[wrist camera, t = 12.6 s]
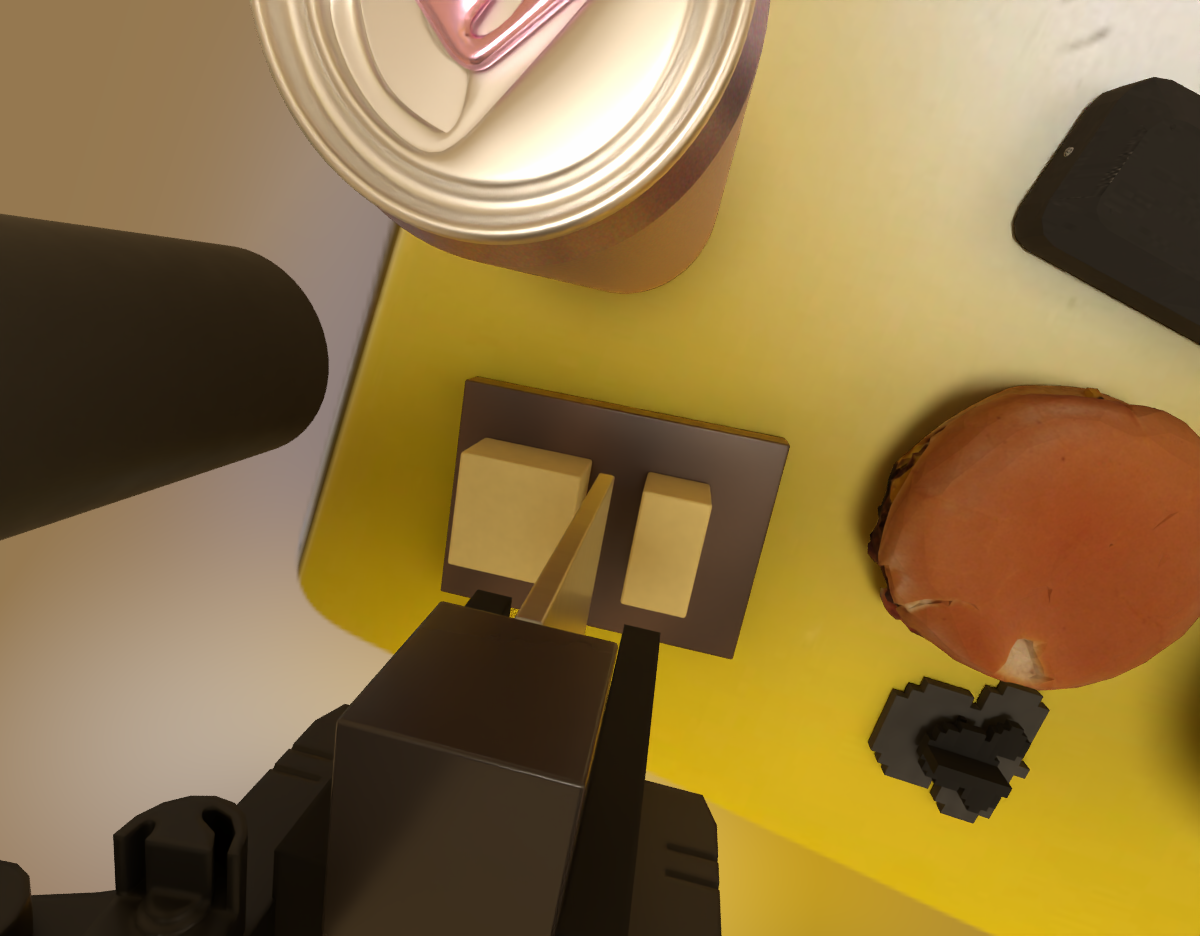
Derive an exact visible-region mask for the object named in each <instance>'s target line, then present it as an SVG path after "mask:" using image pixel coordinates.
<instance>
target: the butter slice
mask: <svg viewBox="0 0 1200 936" xmlns="http://www.w3.org/2000/svg"><path fill="white" fill-rule="evenodd" d="M711 510H712V503H711V493H710V485H708V484H705V483H700V482H696V481H691V480H686V479H681V478H676V477H672V476H667V475H662V474H657V473H653V472H649V473H648V475H647V479H646V482H645V486H644V490H643V494H642V499H641V504H640V508H639V513H638V518H637V523H636V528H635V533H634V537H633V542H632V547H631V552H630V557H629V562H628V567H627V571H626V576H625V581H624V586H623V591H622V596H621V600H620V601H621V603H622V604H625V605H630V606H634V607H638V608H643V609H647V610H651V611H656V612H660V613H664V614H669V615H673V616H677V617H682V618H685V616H686V614H687V609H688V605H689V601H690V597H691V593H692V589H693V584H694V580H695V576H696V572H697V568H698V564H699V559H700V555H701V551H702V547H703V543H704V539H705V535H706V530H707V526H708V522H709V518H710V514H711Z"/></svg>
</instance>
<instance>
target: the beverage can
mask: <svg viewBox="0 0 1200 936" xmlns="http://www.w3.org/2000/svg"><path fill="white" fill-rule="evenodd" d="M769 5H770V0H250V6H251V11H252V14H253V19H254V23H255V27H256V31H257V34H258V38H259V41H260V44H261V48H262V51H263V54H264V56H265V59H266V62H267V64H268V67H269V70H270V72H271V75H272V77H273V79H274V81H275V84H276V86H277V88H278V90H279V93H280V95H281V96H282V98H283V100H284V102H285V103H286V106H287V108H288V109H289V111H290V113H291V115H292V116H293V118H294V120H295V121H296V123H297V124H298V126H299V128H300V129H301V131H302V132H303V133H304V135H305V136H306V137H307V139H308V140H309V142H310V143H311V145H312V146H313V147H314V148H315V150H316V151H317V152H318V153H319V154H320V156H321V157H322V158H323V159H324V160H325V162H326V163H327V164H328V165H329V166H330V167H331V168H332V169H333V170H334V171H335V172H336V173H337V174H338V175H339V176H340V177H341V178H342V179H343V180H344V181H345V182H347V183H348V184H349V185H350V186H351V187H352V188H354V190H356V191H357V192H358V193H359V194H361V195H362V196H363V197H365V198H366V199H367V200H369V201H370V202H371V203H373V204H374V205H376V206H377V207H378V208H379V209H380V210H381V211H382V212H384V213H385V214H386V215H387V216H388V217H389V218H390V219H392V220H393V221H394V222H396V223H397V224H398V225H399V226H401V227H402V228H404V229H405V230H407V231H408V232H410V233H411V234H413V235H414V236H416V237H417V238H419V239H421V240H423V241H425V242H427V243H428V244H430V245H432V246H434V247H437V248H439V249H441V250H443V251H446V252H448V253H451V254H454V255H456V256H459V257H462V258H465V259H469V260H473V261H477V262H481V263H485V264H489V265H494V266H498V267H502V268H507V269H511V270H516V271H520V272H524V273H529V274H533V275H537V276H542V277H546V278H550V279H555V280H559V281H563V282H568V283H572V284H576V285H581V286H585V287H590V288H594V289H598V290H603V291H607V292H613V293H637V292H643V291H647V290H651V289H654V288H656V287H659V286H661V285H663V284H665V283H667V282H669V281H671V280H672V279H674V278H675V277H677V276H678V275H679V274H681V273H682V272H683V271H684V270H685V269H687V268H688V267H689V266H690V265H691V264H692V262H693V261H694V260H695V259H696V258H697V256H698V255H699V254H700V252H701V251H702V249H703V248H704V246H705V245H706V243H707V241H708V239H709V237H710V235H711V232H712V230H713V227H714V224H715V221H716V217H717V214H718V210H719V206H720V203H721V199H722V195H723V192H724V188H725V184H726V181H727V177H728V173H729V170H730V166H731V162H732V159H733V155H734V151H735V148H736V144H737V140H738V137H739V133H740V129H741V126H742V122H743V118H744V115H745V111H746V107H747V104H748V100H749V96H750V93H751V89H752V85H753V82H754V78H755V74H756V71H757V67H758V63H759V60H760V56H761V52H762V47H763V43H764V38H765V33H766V27H767V20H768V13H769Z"/></svg>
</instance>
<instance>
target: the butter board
mask: <svg viewBox="0 0 1200 936" xmlns="http://www.w3.org/2000/svg"><path fill="white" fill-rule="evenodd" d="M484 438H491V439H496V440H501V441H505V442H510V443H515V444H520V445H524V446H529V447H534V448H539V449H543V450H548V451H553V452H558V453H562V454H567V455H572V456H577V457H581V458H586V459H590V460H592V467H591V472H590V478H589V483H588V489H587V494H588V492H589V490H590V489H591V487H592V485H593V484H594V482H595V480H596V479H597V477H598V475H599V474H600V473H603V474H607V475H612V476H614V477H615V479H614V484H613V489H612V494H611V500H610V505H609V510H608V515H607V520H606V526H605V531H604V536H603V541H602V547H601V552H600V557H599V562H598V567H597V573H596V578H595V583H594V588H593V593H592V599H591V604H590V609H589V614H588V619H587V625H588V626H592V627H596V628H600V629H605V630H609V631H613V632H617V633H623V628H624V624H626V625H630V626H635V627H639V628H643V629H647V630H652V631H656V632H660V633H661V634H660V643H664V644H668V645H672V646H677V647H681V648H685V649H689V650H694V651H698V652H702V653H706V654H711V655H715V656H719V657H723V658H728V659H732V658H733V656H734V652H735V648H736V645H737V641H738V637H739V634H740V630H741V626H742V622H743V619H744V615H745V611H746V608H747V604H748V600H749V596H750V593H751V589H752V585H753V582H754V578H755V574H756V570H757V567H758V563H759V559H760V555H761V552H762V548H763V544H764V541H765V537H766V533H767V529H768V526H769V522H770V518H771V515H772V511H773V507H774V503H775V500H776V496H777V492H778V488H779V485H780V481H781V477H782V474H783V470H784V466H785V462H786V459H787V455H788V451H789V448H790V445H789V444H788V442H787V441H786V440H785V439H784V438H781V437H776V436H771V435H766V434H761V433H756V432H751V431H746V430H741V429H736V428H731V427H726V426H721V425H716V424H711V423H706V422H702V421H697V420H692V419H687V418H682V417H677V416H672V415H667V414H662V413H657V412H652V411H647V410H642V409H637V408H632V407H627V406H622V405H617V404H612V403H607V402H602V401H597V400H592V399H587V398H582V397H577V396H572V395H567V394H562V393H557V392H552V391H547V390H542V389H537V388H532V387H527V386H522V385H517V384H513V383H508V382H503V381H498V380H493V379H488V378H483V377H478V376H477V377H474V378H470V379H467V380H466V381H465V389H464V397H463V406H462V414H461V422H460V431H459V439H458V448H457V456H456V465H455V473H454V482H453V490H452V499H451V507H450V516H449V524H448V532H447V541H446V549H445V558H444V566H443V575H442V583H441V591H444V592H448V593H452V594H456V595H461V596H465V597H469V598H471V597H472V596H473V595H474V594H475V592H476V591H477V590H483V591H487V592H491V593H495V594H500V595H504V596H508V597H512V603H511V608H516V609H520V608H521V606H522V604H523V603H524V601H525V599H526V598H527V596H528V594H529V592H530V591H531V589H532V587H533V586H534V584H535V583H530V582H526V581H522V580H517V579H513V578H509V577H504V576H500V575H496V574H491V573H487V572H483V571H478V570H474V569H470V568H465V567H461V566H457V565H452V564H449V563H448V558H449V550H450V541H451V533H452V525H453V516H454V508H455V500H456V491H457V483H458V475H459V466H460V458H461V453H462V452H463V451H465V450H466V449H468V448H470V447H471V446H473V445H474V444H476V443H478V442H479V441H481V440H483V439H484ZM649 472H653V473H657V474H662V475H667V476H672V477H676V478H681V479H686V480H691V481H696V482H700V483H705V484H708V485H710V493H711V503H712V510H711V514H710V518H709V522H708V526H707V530H706V535H705V539H704V543H703V547H702V551H701V555H700V559H699V564H698V568H697V572H696V576H695V580H694V584H693V589H692V593H691V597H690V601H689V605H688V609H687V614H686V616H685V618H682V617H677V616H673V615H669V614H664V613H660V612H656V611H651V610H647V609H643V608H638V607H634V606H630V605H625V604H622V603H621V601H620V600H621V596H622V591H623V586H624V581H625V576H626V571H627V567H628V562H629V557H630V552H631V547H632V542H633V537H634V533H635V528H636V523H637V518H638V513H639V508H640V504H641V499H642V494H643V490H644V486H645V482H646V479H647V475H648V473H649ZM587 494H586V496H587Z"/></svg>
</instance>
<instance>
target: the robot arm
mask: <svg viewBox="0 0 1200 936" xmlns="http://www.w3.org/2000/svg"><path fill="white" fill-rule="evenodd" d="M511 603H512V597H508V596H504V595H500V594H495V593H491V592H487V591H483V590H477V591H476V592H475V594H474V595H473V596H472V597H471V599H470V600H469V601H468V603H467V604H466V605H465V607H469V608H473V609H477V610H482V611H486V612H490V613H494V614H498V615H502V616H507V617H509V616H510V609H511ZM660 634H661V633H660V632H656V631H652V630H647V629H643V628H639V627H635V626H630V625H626V624H624V628H623V633H622V637H621V641H620V646H619V650H618V655H617V659H616V664H615V668H614V672H613V677H612V681H611V686H610V690H609V694H608V699H607V703H606V708H605V712H604V716H603V721H602V726H601V731H600V735H599V740H598V745H597V750H596V754H595V759H594V764H593V769H592V774H591V778H590V783H589V787H588V792H587V796H586V801H585V805H584V810H583V814H582V819H581V823H580V828H579V832H578V837H577V841H576V846H575V850H574V854H573V859H572V863H571V868H570V872H569V877H568V881H567V886H566V890H565V895H564V899H563V904H562V908H561V913H560V917H559V922H558V926H557V931H556V935H555V936H721V916H720V915H721V914H720V892H719V890H718V887H719V868H718V863H717V860H718V859H717V858H718V843H717V825H716V823H715V821H714V818H713V816H712V814H711V812H710V810H709V808H708V806H707V804H706V801H705V799H704V797H703V795H700V794H696V793H692V792H688V791H684V790H681V789H677V788H673V787H669V786H665V785H661V784H657V783H654V782H650V781H646V780H645V774H646V764H647V755H648V746H649V736H650V727H651V718H652V708H653V699H654V690H655V681H656V671H657V662H658V653H659V643H660ZM349 706H350V705H347V704H344V705H342V706H340V707H339V708H337V709H335V710H333V711H331V712H330V713H328V714H326V715H324V716H323V717H321V718H319V719H317V720H315V721H314V722H313V723H312V724H311V726H310V727H309V728H308V729H307V730H306V731H305V732H304V733H303V734H302V735H301V736H300V737H299V738H298V740H297V741H296V742H295V743H294V744H293V747H292V749H288V751H286V753H285V754H284V755H283V756H282V757H281V758H280V759H279V760H278V761H277V762H276V763H275V766H274V768H273V769H270V770H269V771H268V772H267V773H266V774H265V775H264V776H263V777H262V779H261V780H260V781H259V782H258V783H257V784H256V785H255V786H254V787H253V788H252V789H251V790H250V791H249V792H248V793H247V795H246V796H245V797H244V798H243V799H242V800H241V801H240V802H239V803H238V804H237V805H236V804H235V803H233V802H231V801H228V800H225V799H222V798H220V797H217V796H188V797H184V798H180V799H176V800H172V801H168V802H163V803H161V804H159V805H157V806H155V807H153V808H151V809H149V810H147V811H145V812H143V813H141V814H139V815H137V816H136V817H134V818H133V819H132V820H131V821H129V822H128V823H127V824H126V825H124V826H123V827H122V828H121V829H120V830H118V831H117V832H116V833H115V834H114V835H113V840H114V862H115V883H116V890H112V891H105V892H96V893H73V894H51V895H31V889H30V878H29V875H28V874H27V873H26V872H25V871H24V870H23V869H22V868H21V867H20V866H19V865H18V864H16V863H11V862H7V861H1V860H0V936H321V927H322V913H323V899H324V886H325V872H326V858H327V844H328V831H329V817H330V803H331V789H332V776H333V762H334V748H335V734H336V723H337V720H338V718H339V717H340V716H341V715H342V714H343V712H344V711H345V710H346V709H347V708H348V707H349Z"/></svg>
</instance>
